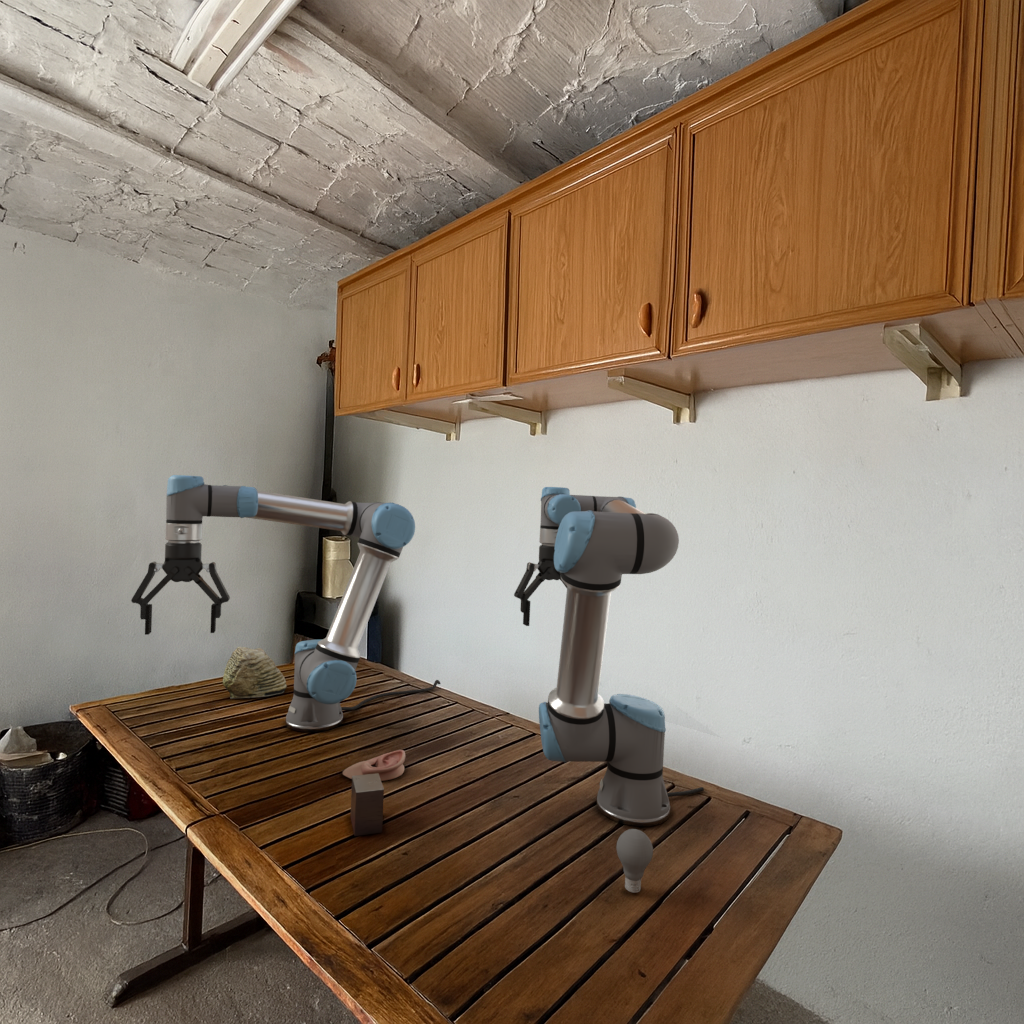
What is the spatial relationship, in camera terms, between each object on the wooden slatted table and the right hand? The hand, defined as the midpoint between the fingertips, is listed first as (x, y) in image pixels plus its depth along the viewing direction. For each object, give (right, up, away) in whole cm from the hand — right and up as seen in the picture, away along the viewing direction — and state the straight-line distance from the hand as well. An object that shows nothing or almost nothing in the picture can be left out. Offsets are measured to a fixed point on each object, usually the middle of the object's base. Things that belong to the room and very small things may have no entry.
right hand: (549, 624), depth 169 cm
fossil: (-91, -27, +29) cm, 99 cm away
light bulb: (+10, -33, -63) cm, 72 cm away
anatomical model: (-42, -30, -23) cm, 57 cm away
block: (-39, -31, -46) cm, 67 cm away
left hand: (-87, +2, -21) cm, 90 cm away
